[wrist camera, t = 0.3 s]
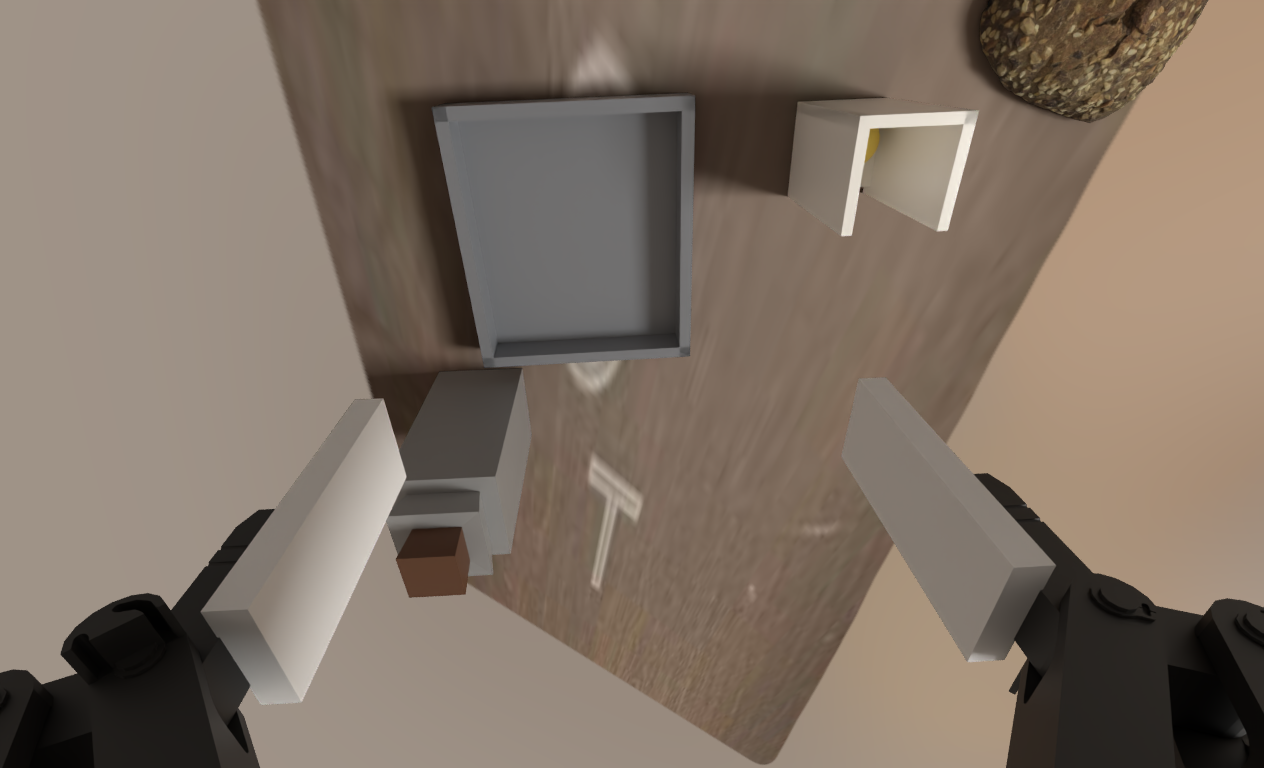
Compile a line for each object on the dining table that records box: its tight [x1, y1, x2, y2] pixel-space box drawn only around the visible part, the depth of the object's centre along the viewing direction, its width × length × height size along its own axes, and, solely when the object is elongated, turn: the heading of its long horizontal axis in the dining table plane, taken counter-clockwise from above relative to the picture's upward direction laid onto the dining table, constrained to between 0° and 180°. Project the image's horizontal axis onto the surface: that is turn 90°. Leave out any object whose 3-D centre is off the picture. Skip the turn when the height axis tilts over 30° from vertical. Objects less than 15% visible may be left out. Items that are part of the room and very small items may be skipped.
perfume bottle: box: [386, 368, 532, 598], centre depth 39 cm, size 7×7×18 cm
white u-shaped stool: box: [788, 98, 979, 236], centre depth 33 cm, size 6×6×10 cm
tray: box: [432, 93, 695, 368], centre depth 38 cm, size 18×16×3 cm
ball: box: [864, 128, 880, 163], centre depth 35 cm, size 3×3×3 cm
